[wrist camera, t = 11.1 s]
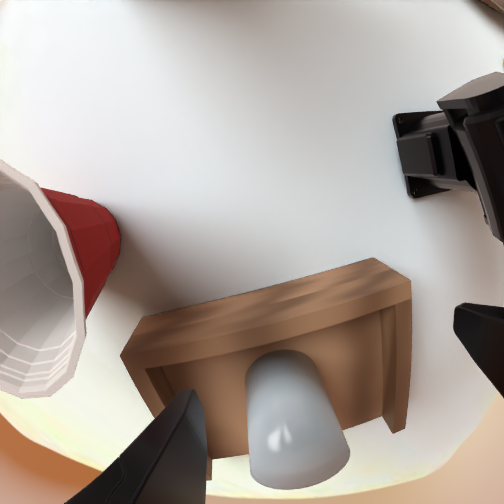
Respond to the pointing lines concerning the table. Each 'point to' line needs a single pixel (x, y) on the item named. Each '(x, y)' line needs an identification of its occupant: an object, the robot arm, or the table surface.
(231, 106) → the table surface
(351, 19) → the table surface
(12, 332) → the plastic cup
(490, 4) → the plant saucer
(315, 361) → the wooden tray
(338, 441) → the grey rounded cone
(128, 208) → the table surface
